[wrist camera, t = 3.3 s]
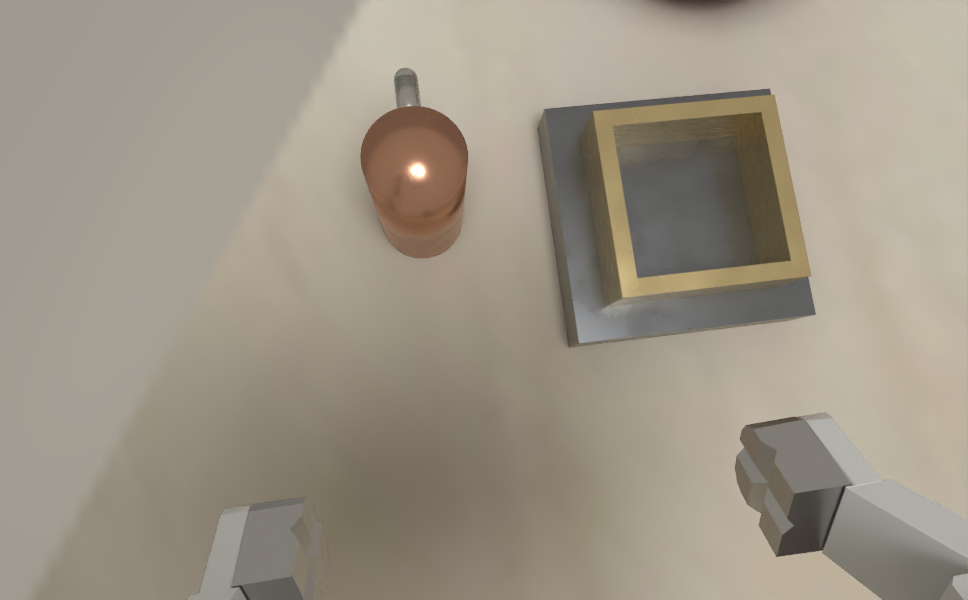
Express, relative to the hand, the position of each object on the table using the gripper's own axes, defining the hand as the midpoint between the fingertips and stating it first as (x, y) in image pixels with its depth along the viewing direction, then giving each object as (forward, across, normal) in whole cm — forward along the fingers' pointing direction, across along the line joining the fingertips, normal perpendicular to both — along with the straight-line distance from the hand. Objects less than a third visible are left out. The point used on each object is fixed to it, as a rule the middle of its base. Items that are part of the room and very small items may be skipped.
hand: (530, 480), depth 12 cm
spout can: (+30, +3, +9) cm, 32 cm away
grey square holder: (+28, -13, +12) cm, 34 cm away
